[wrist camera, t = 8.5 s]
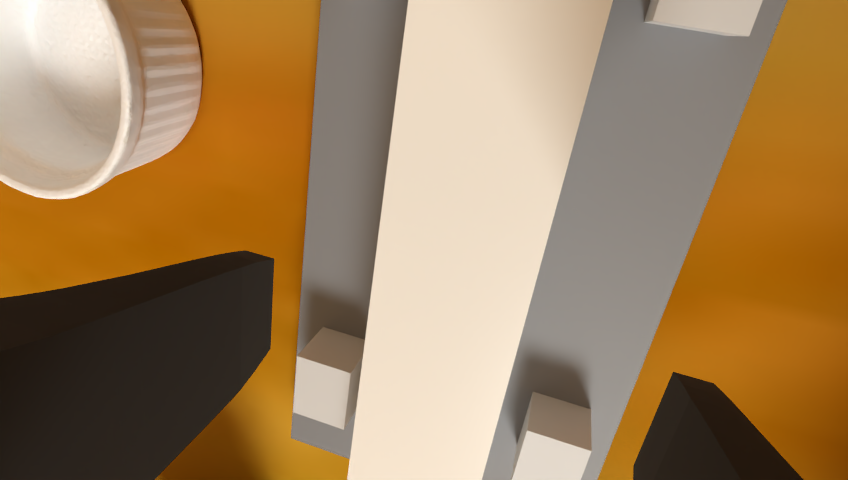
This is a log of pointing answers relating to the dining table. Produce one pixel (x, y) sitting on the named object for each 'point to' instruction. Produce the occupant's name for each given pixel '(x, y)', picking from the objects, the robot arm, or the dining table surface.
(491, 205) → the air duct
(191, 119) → the ramekin
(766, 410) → the dining table surface
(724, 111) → the collar stand
